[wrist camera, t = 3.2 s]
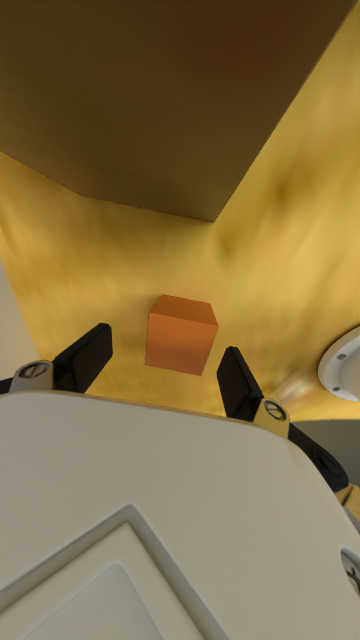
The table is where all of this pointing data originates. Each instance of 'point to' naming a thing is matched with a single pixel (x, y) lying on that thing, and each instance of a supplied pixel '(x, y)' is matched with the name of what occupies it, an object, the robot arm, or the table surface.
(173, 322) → the cube
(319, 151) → the table surface
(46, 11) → the shelf
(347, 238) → the table surface
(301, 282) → the table surface
